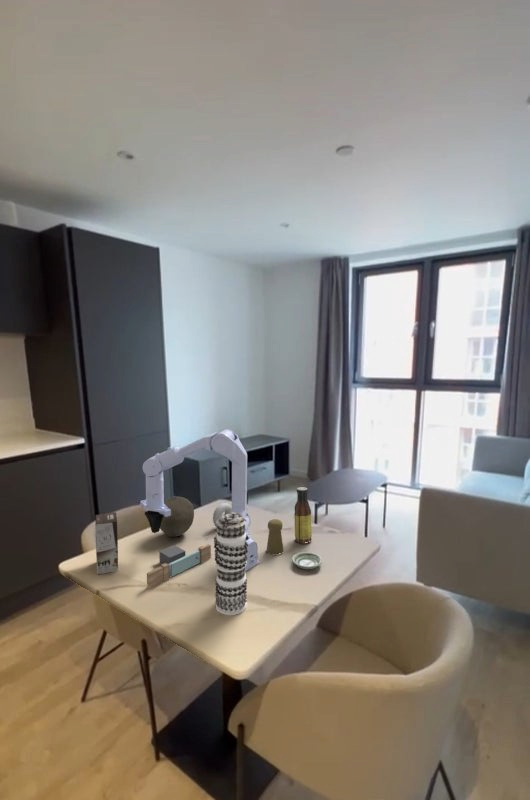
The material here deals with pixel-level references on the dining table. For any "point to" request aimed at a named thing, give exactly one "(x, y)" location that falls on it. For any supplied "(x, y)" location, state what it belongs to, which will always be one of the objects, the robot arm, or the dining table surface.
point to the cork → (275, 537)
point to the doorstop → (171, 554)
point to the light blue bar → (184, 563)
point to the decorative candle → (231, 564)
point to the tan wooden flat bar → (162, 572)
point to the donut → (221, 511)
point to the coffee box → (106, 542)
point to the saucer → (306, 560)
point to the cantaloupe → (177, 516)
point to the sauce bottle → (302, 517)
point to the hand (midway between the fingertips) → (155, 531)
